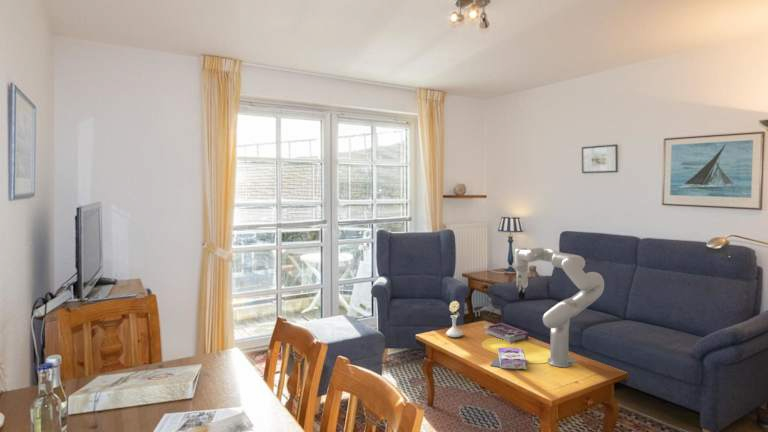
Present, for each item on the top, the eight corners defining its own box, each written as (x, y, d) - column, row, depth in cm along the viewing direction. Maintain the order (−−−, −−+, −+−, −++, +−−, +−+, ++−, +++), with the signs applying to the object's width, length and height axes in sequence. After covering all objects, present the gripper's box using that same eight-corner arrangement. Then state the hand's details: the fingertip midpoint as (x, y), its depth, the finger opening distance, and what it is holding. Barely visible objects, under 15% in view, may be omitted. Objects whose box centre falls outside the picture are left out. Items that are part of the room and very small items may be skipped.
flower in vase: (443, 334, 306) (442, 298, 304) (458, 332, 309) (457, 297, 308) (451, 340, 293) (450, 303, 292) (467, 338, 297) (466, 301, 295)
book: (483, 333, 307) (483, 326, 307) (501, 329, 314) (501, 322, 314) (509, 344, 285) (509, 336, 284) (528, 339, 292) (528, 332, 292)
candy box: (522, 348, 257) (526, 359, 241) (522, 358, 258) (526, 369, 241) (498, 347, 260) (500, 358, 244) (498, 357, 260) (500, 368, 244)
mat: (520, 362, 253) (520, 361, 253) (515, 370, 243) (515, 369, 243) (495, 358, 260) (495, 357, 260) (490, 366, 249) (490, 365, 249)
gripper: (525, 271, 257) (525, 302, 258) (530, 266, 270) (530, 296, 271) (512, 270, 261) (512, 301, 262) (517, 266, 274) (518, 295, 275)
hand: (521, 298), depth 266 cm, fingers closed
